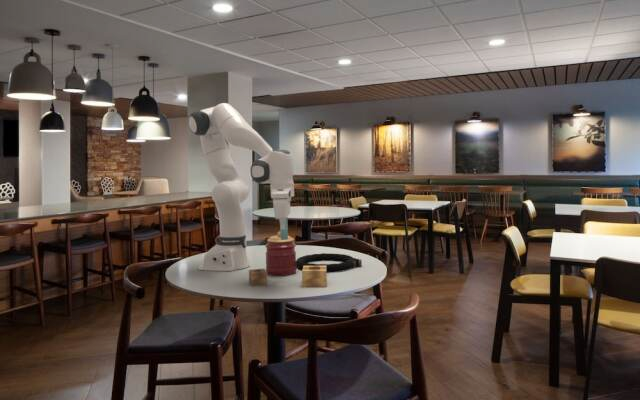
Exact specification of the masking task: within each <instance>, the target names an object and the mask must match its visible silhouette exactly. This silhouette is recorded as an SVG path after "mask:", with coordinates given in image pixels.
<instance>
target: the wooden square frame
mask: <svg viewBox="0 0 640 400" xmlns="http://www.w3.org/2000/svg"><path fill="white" fill-rule="evenodd" d="M327 273H328V272H327V270H326V265H324V266H303V270H301V276H302V277H301V279H302V281H301V286H302V287H303V288H308V287H309V288H313V287H314V288H315V287H317V288H318V287H319V288H320V287H322V288H325V287H327V282H328V281H327V280H328V279H327Z"/></svg>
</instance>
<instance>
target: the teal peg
mask: <svg viewBox="0 0 640 400" xmlns="http://www.w3.org/2000/svg"><path fill="white" fill-rule="evenodd" d="M285 226H286V228H285V229H284V230H281V229H280V228H279V229H280V230H279V232H280V235H281V240H287V239H288V236H289V232H288V231H289V230H288V229H289V227H288V226H289V225H288V216H287V217H286V218H285Z"/></svg>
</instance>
